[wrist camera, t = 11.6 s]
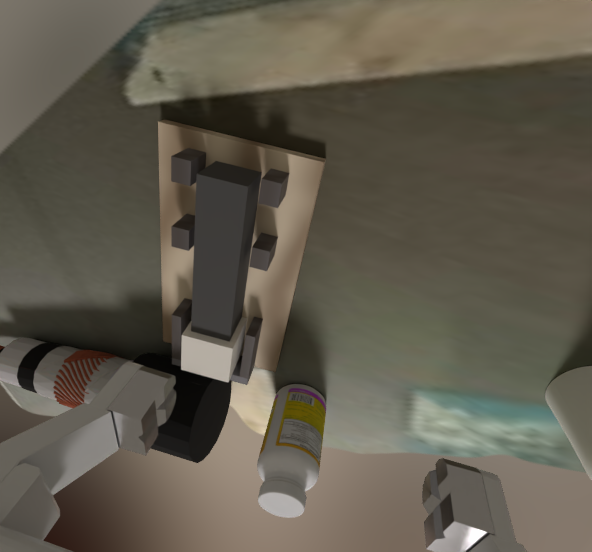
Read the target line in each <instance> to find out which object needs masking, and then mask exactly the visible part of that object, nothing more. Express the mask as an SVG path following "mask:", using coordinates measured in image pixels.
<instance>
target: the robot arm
mask: <svg viewBox="0 0 592 552" xmlns="http://www.w3.org/2000/svg"><path fill="white" fill-rule="evenodd" d="M175 384H176V379H175V376H173V375H170V374H167V373H164V372H161V371H158V370H154V369H151V368H148V367H145V366H143V365H139V364H136V363H133V362H130V361H128V362H126V363H125V364H123V365H122V366H121V367H120V368H119V370H118V371H117V372H116V373H115V374H114V375H113V377H112V378H111V379H110V380H109V381H108V383H107V384H106V385H105V386H104V387H103V388H102V390H101V391H100V392H99V393H98V394H97V395H96V397H95V398H94V399H93V400H92V401H91V402H90V404H86V403H83V404H81V405H79V406H77V407H75V408H73V409H71V410H69V411H67V412H65V413H62V414H60V415H58V416H56V417H54V418H52V419H50V420H48V421H46V422H44V423H42V424H40V425H37V426H35V427H33V428H31V429H29V430H27V431H25V432H23V433H21V434H19V435H17V436H14V437H12V438H10V439H8V440H6V441H4V442H2V443H0V552H72V551H70V550H67V549H64V548H61V547H59V546H56V545H53V544H51V543H48V542H45V541H43V540H44V538H45V537H46V535H47V534H48V532H49V531H50V529H51V528H52V527H53V525H54V524H55V522H56V521H57V519H58V518H59V517H60V510H59V508H58V506H57V504H56V501H55V499H54V497H53V494H55V493H57V492H58V491H59V490H61V489H62V488H64V487H65V486H66V485H68V484H70V483H71V482H72V481H74V480H75V479H77V478H78V477H80V476H81V475H83V474H84V473H85V472H87V471H88V470H90V469H91V468H93V467H94V466H96V465H97V464H98V463H100V462H101V461H103V460H104V459H106V458H107V457H109V456H110V455H111V454H112V453H114V452H116V451H117V450H118V449H119V448H122V449H125V450H129V451H132V452H135V453H139V454H142V455H147V453H148V451H149V450H150V448H151V446H152V445H153V443H154V441H155V440H156V438H157V436H158V426H160V425H162V424H164V423H165V422H166V421H167V420H168V418H169V416H170V415H171V413H172V410H173V408H174V405H175V401H176V391H175V390H174V389H173V387H174V385H175ZM118 447H119V448H118ZM422 498H423V505H424V507H425V509H426V511H427V512H428V514H429V516H428V517H427V519H426V520H425V522H424V526H425V539H426V549H428V550H431V551H433V552H527V551H526V549H525V548H524V546H523V545H521V544H519V543H517V542H516V538H515V535H514V531H513V527H512V524H511V519H510V516H509V512H508V508H507V504H506V501H505V497H504V493H503V489H502V486H501V482H500V479H499V478H498V476H497V475H495V474H493V473H490V472H486V471H483V470H479V469H477V468H474V467H470V466H467V465H464V464H461V463H457V462H454V461H450V460H447V459H439V460H438V461H437V463H436V470H433V471H430V472H429V473H428V474H427V476H426V477H425V481H424V484H423V492H422Z"/></svg>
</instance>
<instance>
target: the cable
mask: <svg viewBox="0 0 592 552" xmlns="http://www.w3.org/2000/svg"><path fill="white" fill-rule="evenodd" d="M128 361H130V362H133V363H136V364H139V365H143V366H145V367H148V368H151V369H154V370H158V371H161V372H164V373H167V374H170V375H173V376H175V379H176V384H175V385H174V387H173V389H174V390H175V391H176V401H175V405H174V408H173V410H172V413H171V415H170V416H169V418H168V420H167V421H166V422H165V423H164V424H162V425H160V426H158V436H157V438H156V440H155V441H154V443H153V445H152V446H151V448H152V449H155V450H158V451H161V452H164V453H168V454H170V455H173V456H177V457H180V458H183V459H186V460H189V461H193V462H196V463H198V462H200V461H202V460H203V459H204V458H205V457H206V456H207V455H208V454H209V453H210V451H211V449H212V448H213V446H214V444H215V443H216V441H217V439H218V437H219V435H220V432H221V430H222V428H223V425H224V422H225V419H226V416H227V412H228V408H229V404H230V397H231V380H229V383H228V382H224V381H220V380H217V379H213V378H210V377H206V376H202V375H199V374H195V373H192V372H188V371H184V370H181V366H177V365H173V364H172V358H169V357H165V356H161V355H157V354H152V353H146V354H143V355H140V356H139V357H138V358H136V359H135V360H127V359H124V358H122V357H118V356H116V355H113V354H109V353H105V352H99V351H92V350H89V349H88V350H85V349H84V350H81V349H77V348H73V347H70V346H62V345H58V344H54V343H46V342H42V341H38V340H35V339H31V338H20V339H17V340H14V341H13V342H11V343H10V344H9V345H7V346H6V347H3V346H0V380H1V381H4V382H7V383H10V384H13V385H16V386H19V387H22V388H24V389H26V390H29V391H32V392H35V393H38V394H39V395H41V396H44V397H47V398H50V399H54V400H57V401H58V402H59V404H62V405H65V406H68V407H71V408H75V407H77V406H79V405H81V404H83V403H86V404H90V402H91V401H92V400H93V399H94V398H95V397H96V395H97V394H98V393H99V392H100V391H101V390H102V388H103V387H104V386H105V385H106V384H107V383H108V381H109V380H110V379H111V378H112V377H113V375H114V374H115V373H116V372H117V371H118V370H119V368H120V367H121V366H122V365H123V364H125V363H126V362H128Z"/></svg>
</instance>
